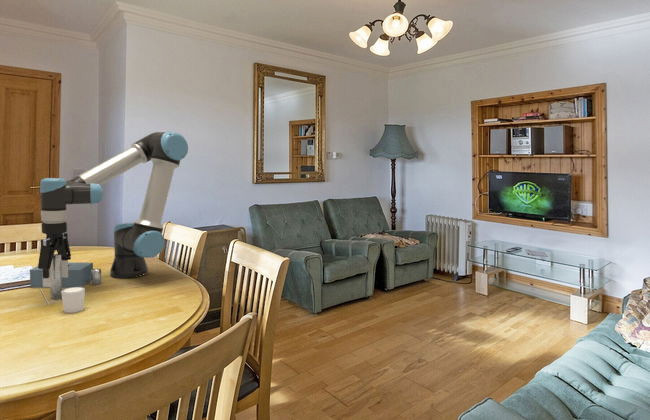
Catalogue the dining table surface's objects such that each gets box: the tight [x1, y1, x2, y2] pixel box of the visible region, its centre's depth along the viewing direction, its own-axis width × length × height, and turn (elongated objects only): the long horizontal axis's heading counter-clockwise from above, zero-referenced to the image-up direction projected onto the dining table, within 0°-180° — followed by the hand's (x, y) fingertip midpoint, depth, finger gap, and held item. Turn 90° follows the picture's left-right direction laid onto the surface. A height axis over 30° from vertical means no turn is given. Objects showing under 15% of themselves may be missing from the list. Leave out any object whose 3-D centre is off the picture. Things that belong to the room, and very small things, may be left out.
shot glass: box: [61, 286, 86, 314], centre depth 137 cm, size 7×7×7 cm
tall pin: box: [50, 253, 63, 300], centre depth 147 cm, size 4×4×16 cm
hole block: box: [29, 261, 94, 289], centre depth 164 cm, size 18×12×7 cm, turn 98°
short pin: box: [90, 268, 102, 286], centre depth 165 cm, size 4×4×6 cm
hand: (56, 281), depth 147 cm, fingers open, 11 cm apart
